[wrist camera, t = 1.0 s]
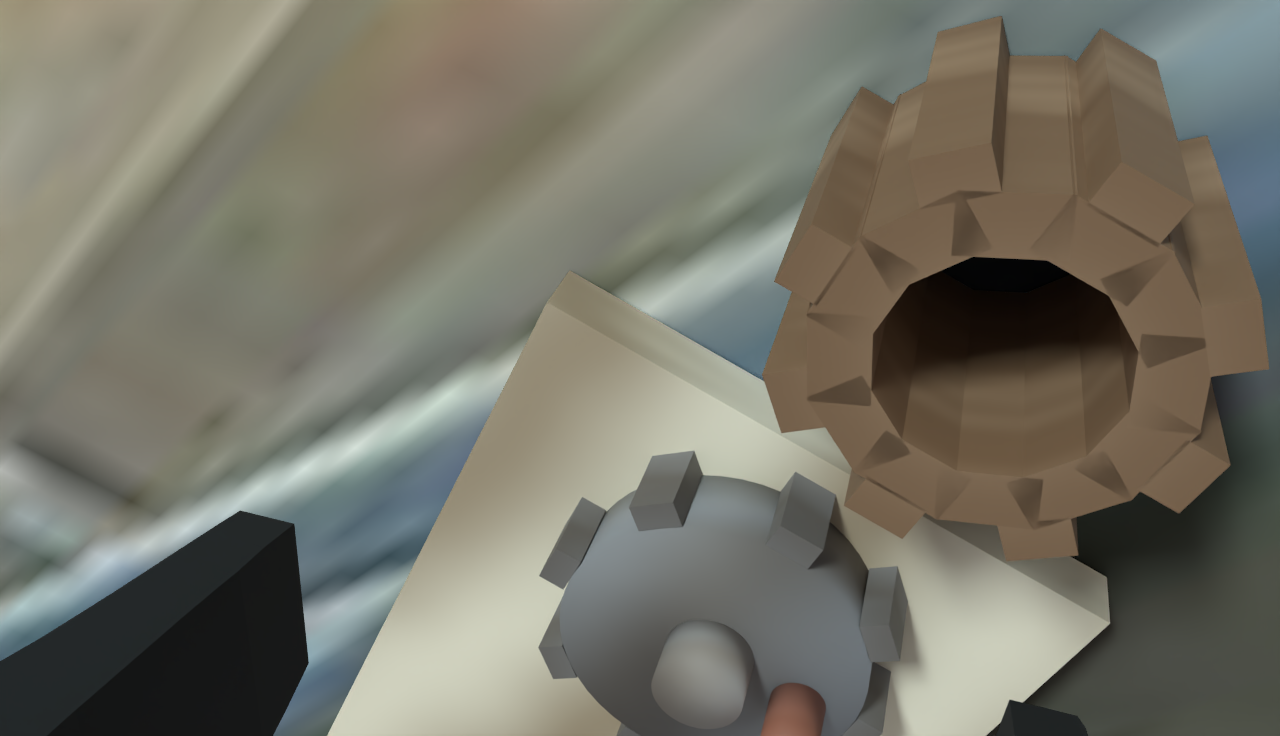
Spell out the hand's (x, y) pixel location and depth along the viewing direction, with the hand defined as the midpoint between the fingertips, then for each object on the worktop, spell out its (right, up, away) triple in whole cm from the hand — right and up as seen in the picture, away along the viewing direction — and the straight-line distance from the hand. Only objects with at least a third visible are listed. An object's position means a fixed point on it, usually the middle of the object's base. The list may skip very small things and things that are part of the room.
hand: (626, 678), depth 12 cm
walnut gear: (+6, +6, +6) cm, 10 cm away
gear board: (-1, -5, +15) cm, 16 cm away
